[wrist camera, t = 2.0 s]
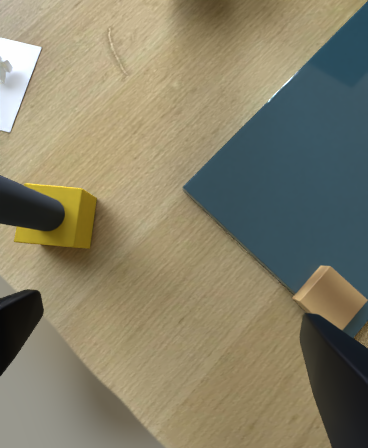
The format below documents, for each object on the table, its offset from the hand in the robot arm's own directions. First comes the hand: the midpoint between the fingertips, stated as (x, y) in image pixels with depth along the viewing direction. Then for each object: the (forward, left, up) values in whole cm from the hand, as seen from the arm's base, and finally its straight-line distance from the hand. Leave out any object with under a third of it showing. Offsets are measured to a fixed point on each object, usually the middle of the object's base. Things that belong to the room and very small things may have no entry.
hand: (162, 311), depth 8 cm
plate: (+17, -19, -15) cm, 30 cm away
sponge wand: (+4, +11, -15) cm, 19 cm away
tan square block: (-1, -13, -14) cm, 19 cm away
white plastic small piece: (+18, +21, -15) cm, 32 cm away
